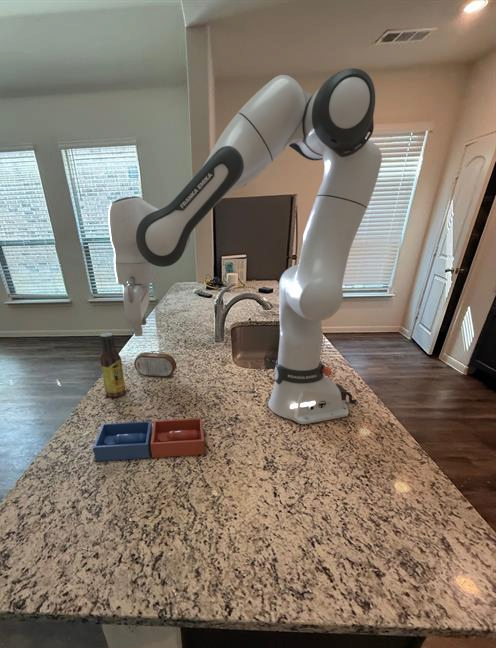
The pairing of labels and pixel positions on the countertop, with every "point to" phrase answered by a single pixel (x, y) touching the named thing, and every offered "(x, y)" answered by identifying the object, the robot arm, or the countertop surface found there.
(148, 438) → the blue bin
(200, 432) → the red bin
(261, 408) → the countertop surface
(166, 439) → the red lumpy bar
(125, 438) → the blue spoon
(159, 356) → the tin
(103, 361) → the sauce bottle
